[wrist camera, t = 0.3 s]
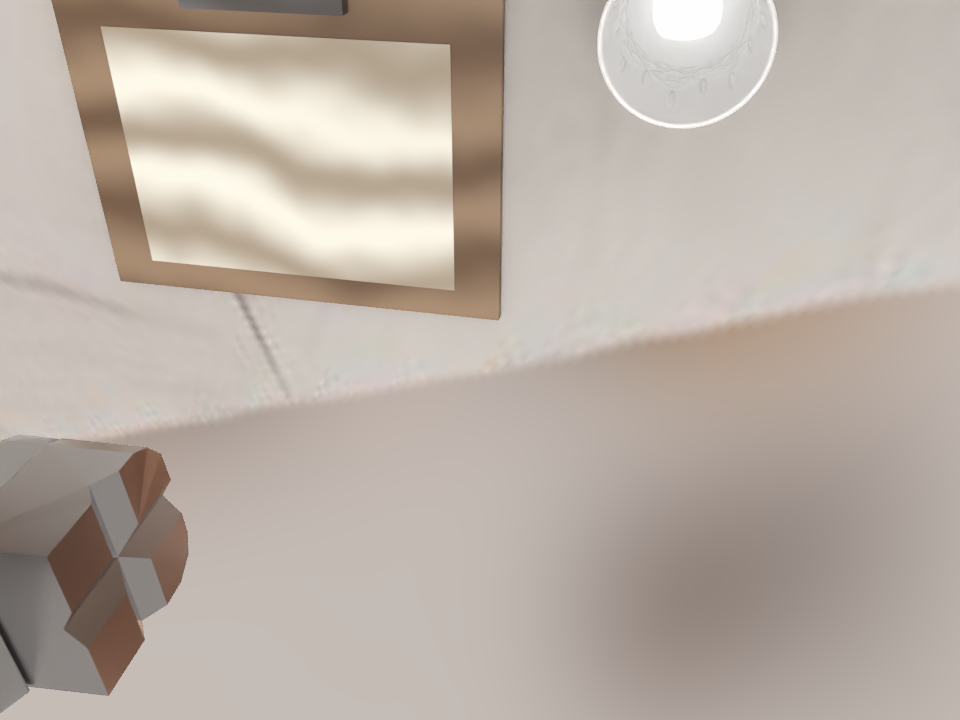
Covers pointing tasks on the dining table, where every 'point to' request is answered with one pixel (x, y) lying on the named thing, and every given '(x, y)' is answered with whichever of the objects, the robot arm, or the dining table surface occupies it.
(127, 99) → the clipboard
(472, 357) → the dining table surface
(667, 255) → the dining table surface
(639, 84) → the white cup
